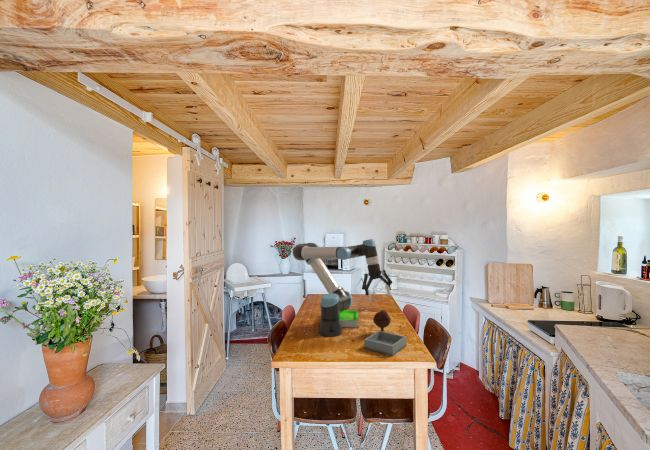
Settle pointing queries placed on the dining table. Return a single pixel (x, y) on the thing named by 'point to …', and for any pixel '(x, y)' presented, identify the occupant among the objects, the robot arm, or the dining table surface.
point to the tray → (349, 318)
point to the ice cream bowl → (382, 319)
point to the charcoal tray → (385, 343)
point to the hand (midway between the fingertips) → (379, 298)
